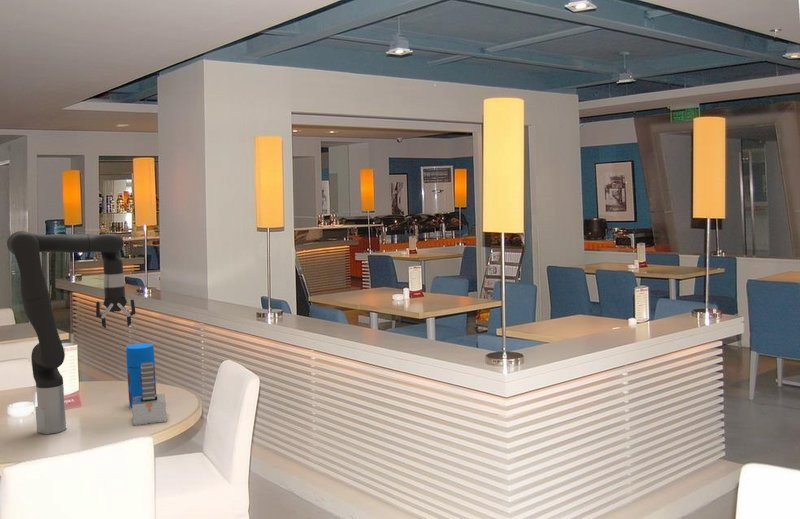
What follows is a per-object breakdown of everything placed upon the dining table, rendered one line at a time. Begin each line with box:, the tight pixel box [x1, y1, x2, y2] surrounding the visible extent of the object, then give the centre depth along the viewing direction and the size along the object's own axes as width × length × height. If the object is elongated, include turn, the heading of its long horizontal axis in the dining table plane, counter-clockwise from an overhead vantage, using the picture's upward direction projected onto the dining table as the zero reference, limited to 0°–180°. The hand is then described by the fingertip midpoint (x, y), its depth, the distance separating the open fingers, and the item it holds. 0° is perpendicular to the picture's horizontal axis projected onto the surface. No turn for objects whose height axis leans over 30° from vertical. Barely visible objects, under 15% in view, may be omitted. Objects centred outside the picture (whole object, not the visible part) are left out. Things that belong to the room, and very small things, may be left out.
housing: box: [131, 393, 167, 426], centre depth 304 cm, size 13×12×8 cm
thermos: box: [125, 343, 157, 410], centre depth 323 cm, size 11×11×25 cm
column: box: [141, 362, 155, 401], centre depth 304 cm, size 4×4×16 cm
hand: (116, 326), depth 304 cm, fingers open, 8 cm apart
